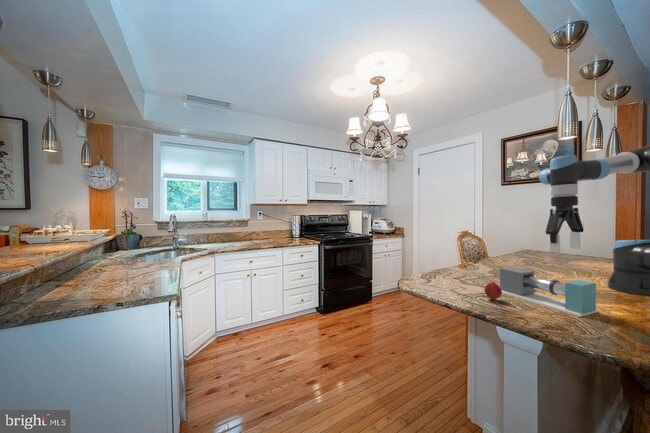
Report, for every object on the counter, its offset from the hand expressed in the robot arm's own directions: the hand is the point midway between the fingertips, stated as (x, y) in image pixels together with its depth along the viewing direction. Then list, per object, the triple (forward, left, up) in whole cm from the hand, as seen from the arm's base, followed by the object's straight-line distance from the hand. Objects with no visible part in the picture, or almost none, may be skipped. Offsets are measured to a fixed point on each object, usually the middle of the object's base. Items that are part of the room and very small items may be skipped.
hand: (565, 250), depth 95 cm
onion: (+22, -13, -21) cm, 33 cm away
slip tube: (+5, -2, -17) cm, 18 cm away
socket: (+5, +7, -21) cm, 23 cm away
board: (+5, -5, -21) cm, 22 cm away
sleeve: (+5, -15, -21) cm, 26 cm away
